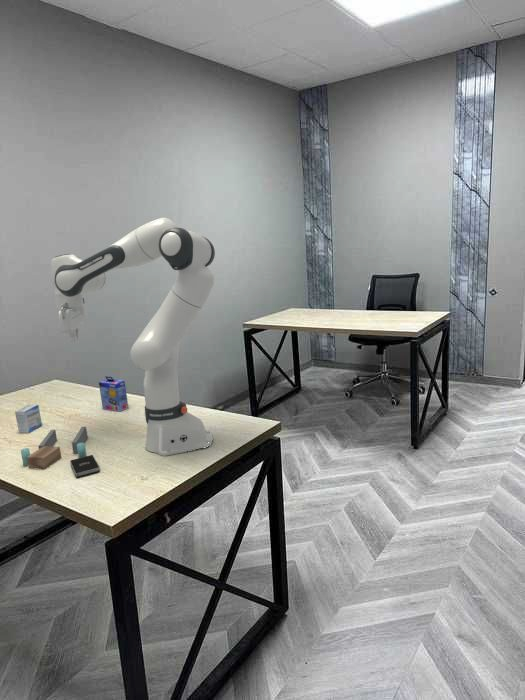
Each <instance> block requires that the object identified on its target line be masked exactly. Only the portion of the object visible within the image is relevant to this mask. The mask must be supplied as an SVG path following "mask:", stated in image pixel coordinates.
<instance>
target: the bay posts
mask: <svg viewBox="0 0 525 700" xmlns="http://www.w3.org/2000/svg"><path fill="white" fill-rule="evenodd" d="M77 450H78V454H77V455H78V456H77V458H81V457H85V456H87V450H86V444H85V442H84V443H78V444H77ZM20 454H21V460H22V466H23V465H24V466H23V467H28V462H27V456H29V455H31V451H30V448H28V447H27V448H22V449H20Z"/></svg>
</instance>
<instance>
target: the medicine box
mask: <svg viewBox="0 0 525 700" xmlns="http://www.w3.org/2000/svg"><path fill="white" fill-rule="evenodd" d="M14 412H15V413H14V415H15V418H16V419H15V420H16V425H17V428H18V429H17V430H18V433H19V434H30V433H32V432H34V431H35V430H37V429H39V428H40V427H42V426H43V424H42V417H41V411H40V406H39V404H28V405H26V406H24V407H22V408H19V409H18V410H15V411H14ZM33 430H34V431H33Z"/></svg>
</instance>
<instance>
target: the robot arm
mask: <svg viewBox="0 0 525 700" xmlns="http://www.w3.org/2000/svg"><path fill="white" fill-rule="evenodd" d="M177 226H178V225H176V224H175V222H174V221H173V220H171V219H169V218H167V217H160V218H157V219H154V220H152V221H148V222H146V223H144V224H142V225H141V226H138V227H137V228H136V229H134V230H132V231H130V232H129V233H128V234H126V235H124V236H122V238H120V239H119V240H117V241H116V242H113V244H111V245H110V246H107V247H106V248H105V249H102V250H100V251H99V252H97V253H95V254H93V255H91V256H89V257H87V258H85V259H84V260H82V259H81V258H79V257H77V256H76V255H75V254H73V253H65V254H60V255H57V256H55V257H53V258H52V259H51V261H50V273H51V281H52V284H53V287H54V301H55V306H56V309H60V310H59V311H58V326H59V331H60V333H62V334H67V333H68V334H69V337H70V340H71V341H70V342H72V343H73V342H74V343H75V342H77V341H78V340H79V327H81V326H82V325H83V324H85V304H86V303H85V302H86V301H85V298H84V297H83V294H87V293H92V292H96V291H99V290H101V289H102V288H103V287H104V285H105V283H106V273H108V272H110V271H113V270H118V269H123V268H124V269H126V268H135V267H139V266H143V265H146V264H149V263H152V262H153V261H155V260H156V259H159V258H160V257H163V258H164V260H166V262H167V263H168V265H169V266H170V267H171V268H172V269H173V270H174V271H178V276H177V277H176V280H175V282H174V283H173V285H172V287H171V288H170V290H169V291H168V293H167V295H166V297H165V298H164V300H163V301H162V303H161V305H160V307H159V308H158V309H157V312H155V314H154V315H153V316H152V318H151V319H150V320H149V322H148V324H147V325H146V326H145V327H144V329H142V331H141V333H140V334H139V336H138V337H137V339H136V340H135V341H134V343H133V345H132V346H131V348H130V360H131V362H132V363H133V365H135V366H136V367H137V368H138V369H141V370H143V371H145V373H144V378H143V383H142V384H143V393H144V402H145V406H144V417H145V419H144V420H145V421H146V422H145V423H146V425H147V427H146V441H145V446H144V447H145V450H147V451H149V452H150V453H156V454H159V455H161V456H163V457H167V456H171V455H172V456H173V455H176V454H181V453H182V454H183V453H187V451H188V452H191V451H192V450H193V451H196V450H195V449H199V448H204V447H207V446H209V445H210V444H211V443H212V444H213V442H212V440H213V441H214V438H213V434H212V432H211V431H210V430H208V429H206V427H205V424H204V422H203V421H202V419H201V418H200V417H197V416H196V415H193V414H192V413H191V412H188V407H187V404H186V402H185V401H181V400H180V394H179V393H180V391H179V382H178V381H179V380H178V379H179V377H178V374H179V361H180V359H179V358H180V357H179V356H180V355H179V353H180V344H181V339H182V338H183V337H184V335H185V334H186V332H188V330H189V329H190V327H191V326H192V324H193V323H194V321H195V319H196V317H198V315H199V313H200V312H201V309H202V308H203V306H204V304H206V302H207V300H208V297H209V296H210V292H211V290H212V289H213V286H214V283H215V277H214V274H213V272H212V271H211V270H210V269H209V268H208V267H209V266H210V265H211V264H212V263H213V261H214V259H215V257H216V256H215V255H216V251H215V248H214V245H213V243H212V242H211V241H210V240H209V239H208V238H207V237H205V236H203V235H200V234H198V233H197V232H195V231H193V230H190V229H188V230H187V229H185V228H182V227H177ZM208 442H209V443H208ZM212 444H211V445H212ZM211 445H210V446H211ZM210 446H209V447H210ZM204 449H205V448H204ZM199 450H200V449H199ZM193 451H192V452H193Z"/></svg>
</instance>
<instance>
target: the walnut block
mask: <svg viewBox="0 0 525 700" xmlns="http://www.w3.org/2000/svg"><path fill="white" fill-rule="evenodd" d="M60 458H61V459H62V453H61V447H60V446H53V447H49V446H43V447H42V448H40V449H39V448H38V449H36V450H35V451H34V452H32V453H30V455H29V456H27V462H28V466H27V467H28V469H34V468H39V469H38V470H46V469H48V468H49V467H51V466H52V465H54V464H55V463H56V462H58V461H59V460H61V459H60ZM57 460H58V461H57ZM50 465H51V466H50ZM47 467H48V468H47ZM40 468H41V469H40Z"/></svg>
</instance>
